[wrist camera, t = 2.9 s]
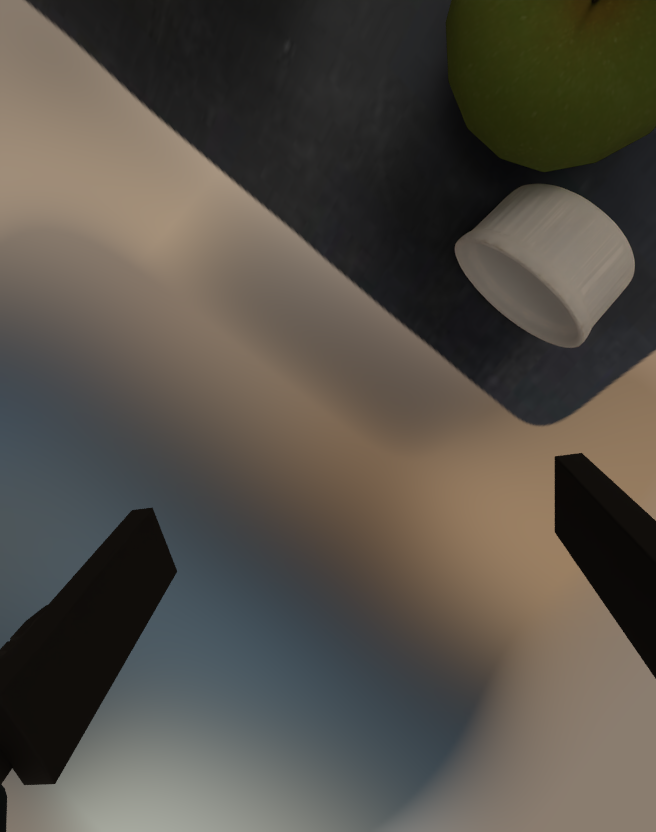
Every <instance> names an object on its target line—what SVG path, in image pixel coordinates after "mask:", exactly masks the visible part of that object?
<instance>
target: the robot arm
mask: <svg viewBox="0 0 656 832" xmlns="http://www.w3.org/2000/svg"><path fill="white" fill-rule="evenodd" d="M555 533H556V534H557V536H558V537H559V539H560V540H561V542H562V543H563V544H564V546H565V547H566V549H567V550H568V552H569V553H570V554H571V556H572V558H573V559H574V561H575V562H576V564H577V565H578V566H579V568H580V569H581V571H582V572H583V573H584V575H585V576H586V578H587V579H588V581H589V582H590V584H591V585H592V587H593V588H594V589H595V591H596V593H597V594H598V595H599V597H600V598H601V600H602V601H603V603H604V604H605V606H606V607H607V608H608V610H609V611H610V613H611V614H612V616H613V617H614V619H615V620H616V622H617V623H618V625H619V626H620V627H621V629H622V630H623V632H624V633H625V635H626V636H627V638H628V639H629V640H630V642H631V643H632V645H633V646H634V648H635V649H636V651H637V652H638V653H639V655H640V656H641V658H642V659H643V661H644V662H645V664H646V665H647V667H648V668H649V669H650V671H651V672H652V674H653V675H654V677H655V678H656V521H655V520H654V519H653V518H652V517H651V516H650V515H649V514H648V513H647V512H645V511H644V510H643V509H642V508H641V507H640V506H639V505H638V504H637V503H636V502H635V501H633V500H632V499H631V498H630V497H629V496H628V495H627V494H626V493H625V492H624V491H622V490H621V489H620V488H619V487H618V486H617V485H616V484H615V483H614V482H613V481H612V480H611V479H609V478H608V477H607V476H606V475H605V474H604V473H603V472H602V471H601V470H600V469H599V468H597V467H596V466H595V465H594V464H593V463H592V462H591V461H590V460H589V459H588V458H587V457H585V456H584V455H583V454H582V453H579V454H570V455H563V456H555ZM176 573H177V570H176V567H175V565H174V562H173V559H172V557H171V554H170V552H169V549H168V546H167V544H166V541H165V539H164V536H163V534H162V531H161V529H160V526H159V523H158V521H157V519H156V516H155V513H154V511H153V508H146V509H138V510H132V511H131V512H130V513H129V514H128V515H127V516H126V518H125V519H124V520H123V521H122V522H121V523H120V524H119V525H118V527H117V528H116V529H115V530H114V531H113V532H112V534H111V535H110V536H109V537H108V538H107V539H106V540H105V541H104V542H103V544H102V545H101V546H100V547H99V548H98V549H97V550H96V551H95V553H94V554H93V555H92V556H91V557H90V558H89V559H88V561H87V562H86V563H85V564H84V565H83V566H82V567H81V569H80V570H79V571H78V572H77V573H76V574H75V575H74V576H73V578H72V579H71V580H70V581H69V582H68V583H67V584H66V585H65V587H64V588H63V589H62V590H61V591H60V592H59V593H58V594H57V596H56V597H55V598H54V599H53V600H52V601H51V602H50V604H49V605H46V606H45V607H44V608H42V609H41V610H40V611H38V612H37V613H36V614H34V615H33V616H32V617H30V619H28V620H27V621H26V622H25V623H24V624H23V625H22V626H21V627H20V628H19V629H18V630H17V632H16V633H15V634H14V635H13V636H12V637H11V638H10V639H11V640H10V641H9V642H6V644H5V645H4V646H3V647H2V648H1V649H0V832H6V814H7V812H6V811H7V795H6V792H5V788H4V787H3V786H2V785H1V784H2V782H3V781H4V779H5V778H6V776H7V775H8V774H9V772H10V771H11V769H12V768H13V770H14V771H15V772H16V774H17V775H18V777H19V778H20V780H21V781H22V783H23V784H24V785H37V784H38V785H39V784H55V783H56V781H57V780H58V778H59V776H60V774H61V773H62V771H63V769H64V767H65V766H66V764H67V762H68V761H69V759H70V757H71V755H72V754H73V752H74V750H75V748H76V747H77V745H78V743H79V741H80V740H81V738H82V736H83V734H84V733H85V731H86V729H87V727H88V726H89V724H90V722H91V720H92V719H93V717H94V715H95V714H96V712H97V710H98V708H99V707H100V705H101V703H102V701H103V699H104V698H105V696H106V694H107V693H108V691H109V689H110V687H111V686H112V684H113V682H114V680H115V679H116V677H117V675H118V673H119V672H120V670H121V668H122V666H123V665H124V663H125V661H126V660H127V658H128V656H129V654H130V653H131V651H132V649H133V647H134V646H135V644H136V642H137V640H138V639H139V637H140V635H141V633H142V632H143V630H144V628H145V627H146V625H147V623H148V621H149V620H150V618H151V616H152V614H153V612H154V611H155V609H156V607H157V606H158V604H159V602H160V600H161V599H162V597H163V595H164V593H165V592H166V590H167V588H168V586H169V585H170V583H171V581H172V580H173V578H174V576H175V574H176Z"/></svg>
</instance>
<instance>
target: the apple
mask: <svg viewBox="0 0 656 832" xmlns="http://www.w3.org/2000/svg"><path fill="white" fill-rule="evenodd" d="M446 37H447V59H448V81H449V84H450V86H451V89H452V91H453V94H454V96H455V99H456V101H457V104H458V106H459V109H460V111H461V114H462V116H463V119H464V121H465V124H466V126H467V128H468V129H469V130H470V131H471V132H472V133H473V134H474V135H475V136H476V137H477V138H479V139H480V140H481V141H482V142H483V143H484V144H485V145H486V146H487V147H488V148H489V149H490V150H492V151H493V152H494V153H495V154H496V155H497V156H498V157H499V158H500V159H503V160H506V161H510V162H513V163H516V164H519V165H522V166H525V167H529V168H532V169H535V170H538V171H541V172H548V171H553V170H559V169H564V168H569V167H575V166H580V165H585V164H591V163H596V162H598V161H600V160H601V159H603V158H605V157H607V156H609V155H611V154H612V153H614V152H616V151H618V150H620V149H622V148H623V147H625V146H627V145H629V144H631V143H633V142H635V141H636V140H638V139H640V138H642V137H644V136H646V135H647V134H649V133H651V132H652V130H653V129H654V128H655V127H656V0H452V1H451V5H450V8H449V12H448V16H447V20H446Z"/></svg>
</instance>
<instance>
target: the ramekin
mask: <svg viewBox="0 0 656 832" xmlns="http://www.w3.org/2000/svg"><path fill="white" fill-rule="evenodd" d="M455 255H456V258H457V260H458V263H459V265H460V267H461V269H462V270H463V272H464V273H465V275H466V276H467V277H468V279H469V280H470V281H471V283H472V284H473V285H474V287H475V288H476V289H477V290H478V291H479V292H480V293H481V294H482V295H483V296H484V297H485V299H486V300H487V301H488V302H489V303H490V304H492V305H493V306H494V307H495V308H496V309H497V310H498V311H500V312H501V313H502V314H503V315H504V316H505V317H507V318H508V319H509V320H511V321H512V322H513V323H514V324H516V325H517V326H519V327H521V328H522V329H524V330H525V331H527V332H528V333H530V334H532V335H534V336H535V337H538V338H539V339H542V340H544V341H546V342H548V343H551V344H554V345H557V346H561V347H565V348H574V347H578V346H580V345H581V344H582V343H583V342H584V341H585V339H586V338H587V337H588V335H589V333H590V331H591V328H592V327H593V326H594V325H595V323H596V322H597V321H598V320H599V319H600V318H601V316H602V315H603V314H604V313H605V312H606V310H607V309H608V308H609V307H610V306H611V305H612V303H613V302H614V301H615V300H616V299H617V298H618V296H619V295H620V294H621V293H622V292H623V290H624V289H625V288H626V287H627V285H628V284H629V283H630V281H631V280H632V277H633V275H634V269H635V263H634V256H633V252H632V249H631V247H630V244H629V242H628V240H627V239H626V237H625V235H624V234H623V232H622V231H621V230H620V228H619V227H618V226H617V225H616V224H615V222H614V221H613V220H612V219H611V218H610V217H609V216H607V215H606V214H605V213H604V212H603V211H602V210H600V209H599V208H598V207H597V206H595V205H594V204H593V203H591V202H590V201H588V200H587V199H585V198H583V197H582V196H580V195H578V194H576V193H574V192H571V191H569V190H567V189H564V188H561V187H558V186H554V185H549V184H528V185H524V186H521V187H519V188H517V189H516V190H514V191H513V192H512V193H510V194H509V195H508V196H507V197H506V198H505V199H504V200H503V201H502V202H501V203H500V204H499V205H498V206H497V207H496V208H495V209H494V210H493V211H491V212H490V213H489V214H488V215H487V216H486V217H485V218H484V219H483V220H482V221H481V222H480V223H479V224H478V225H477V226H476V227H475V228H474V229H473V230H472V231H470V232H468V233H466V234H465V235H464V236H462V237H461V238H460V239H459V240H458V241H457V242H456V244H455Z"/></svg>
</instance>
